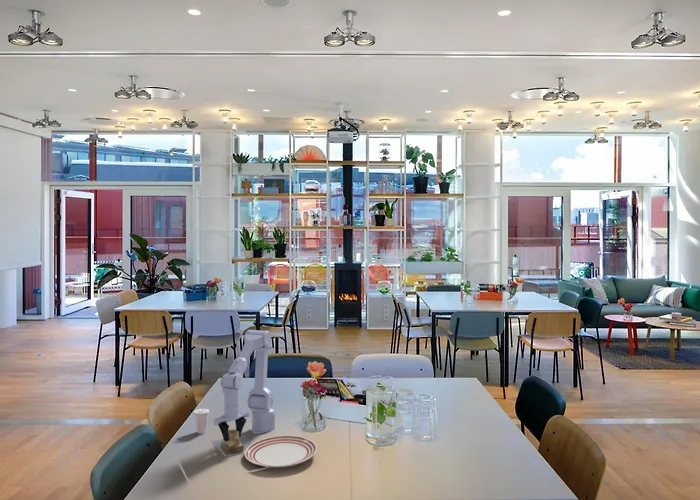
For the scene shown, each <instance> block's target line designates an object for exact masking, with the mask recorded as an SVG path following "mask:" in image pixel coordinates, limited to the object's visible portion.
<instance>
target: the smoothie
mask: <svg viewBox="0 0 700 500" xmlns="http://www.w3.org/2000/svg"><path fill="white" fill-rule="evenodd" d="M204 402H205V401H204V400H202V401H201V406H202V407H201V408H198V409H195V410H194V412H193V415H194V417H195V425H196V432H197V434H199V435H201V434H206V433H207V432H208V424H209V414H210V409H208V408H205V406H204V404H205V403H204Z"/></svg>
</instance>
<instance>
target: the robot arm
mask: <svg viewBox="0 0 700 500" xmlns="http://www.w3.org/2000/svg"><path fill="white" fill-rule="evenodd" d="M243 337H244V339H243V340H244V344H243V346H242V349H241V351H240V353H239V357H237V358H235V359H234V361H233V362H232V364H231V365H230V368H229V370H228V372H227V373H225V374H224V375H222V377H221V382H220V385H221V388H222V393H223V402H224V403H223V405H224V406H223V412H224V414H223V415H221V416H219V417H216V418H214V419H213V425H215V426H218V427H219V429H220V431H221V435H222V439H224V441H228V430H230V425H229V424H228V423H229V422H232V421H234V422H235V430H237V431H239V438H240V437H241V436H242V432H243V429H244V427H245V424H246V422H247V419H246V418H249V417H250V412H251V427H249V428H248V429H250V431H251V432H252V433H253V434H255V435H257V434H262V433H263V434H264V433H266V432H273V431H276V427H275V426H276V425H275V424H276V417H275V416H276V415H275V411H274V409H273V408H272V407H273V405H274V398H273V392H272V390H270V389H269V388H268V387H267V383H268V382H267V380H268V379H267V378H268V361H269V360H268V359H269V357H268V356H269V350H270V349H271V345H272V334H271V333H270V331H269V330H257V329H256V330H255V329H247V330H246V332H245V334H244V336H243ZM254 351H255V366H254V367H255V371H254V372H255V373H254V387H253V388H252V389H251V390H250V391H249V392H248V396H247V407H248V408H249V410H250V411H248V410H243V411H240V389H241V386H242V384H243V380H244V379H243V378H244V374H245V372H246V369H247V368H248V366H249V365H248V360H249V358H251V355H252V354H253V352H254ZM245 417H246V418H245Z"/></svg>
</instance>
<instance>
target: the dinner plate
mask: <svg viewBox="0 0 700 500" xmlns="http://www.w3.org/2000/svg"><path fill="white" fill-rule="evenodd" d="M317 451H318V446H317V444H316V443H315V442H314V441H313V440H311V439H310V438H307V437H304V436H299V435H292V434H291V435H286V434H285V435H276V436H270V437H265V438H262V439H259V440H257V441H255V442H252V444H251V445H250V446H249V447H248V448H247V449H246V450H245V454H244V458H245V459H246V460H247V462H249V463H251V464H254V465H256V466H261V467H265V468H276V469H277V468H278V469H279V468H280V469H281V468H288V467H294V466H297V465H299V464H304V463H305V462H306V461H308V460H310V459H312V458H313V457H314V456H315V454H316V453H317Z"/></svg>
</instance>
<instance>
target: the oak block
mask: <svg viewBox="0 0 700 500" xmlns="http://www.w3.org/2000/svg"><path fill="white" fill-rule="evenodd" d="M225 444H226V445H228V446H229V447H232V446H235V445H238V444H239V431H237V430H236V428H232V429H228V441H225Z"/></svg>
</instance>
